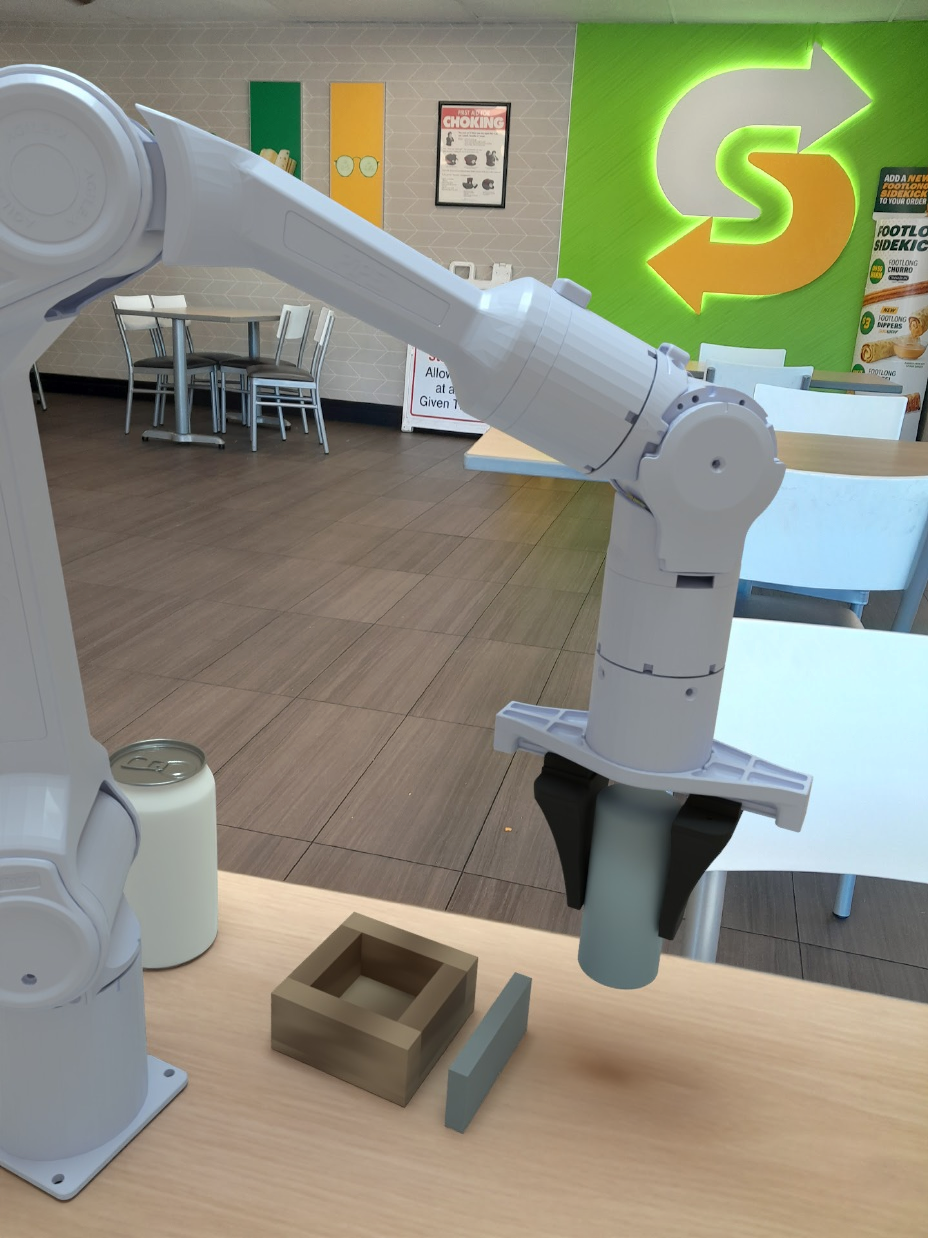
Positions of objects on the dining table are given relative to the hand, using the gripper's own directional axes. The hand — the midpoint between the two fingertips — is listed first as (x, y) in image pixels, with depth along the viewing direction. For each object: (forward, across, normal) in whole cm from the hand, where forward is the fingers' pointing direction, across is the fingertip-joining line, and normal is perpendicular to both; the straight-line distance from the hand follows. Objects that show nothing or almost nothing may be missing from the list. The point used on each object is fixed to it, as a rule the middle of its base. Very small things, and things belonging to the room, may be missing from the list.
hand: (624, 913), depth 49 cm
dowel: (+3, 0, 0) cm, 3 cm away
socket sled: (+10, +12, +3) cm, 16 cm away
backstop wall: (+10, +5, +3) cm, 12 cm away
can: (+10, +27, +3) cm, 29 cm away
